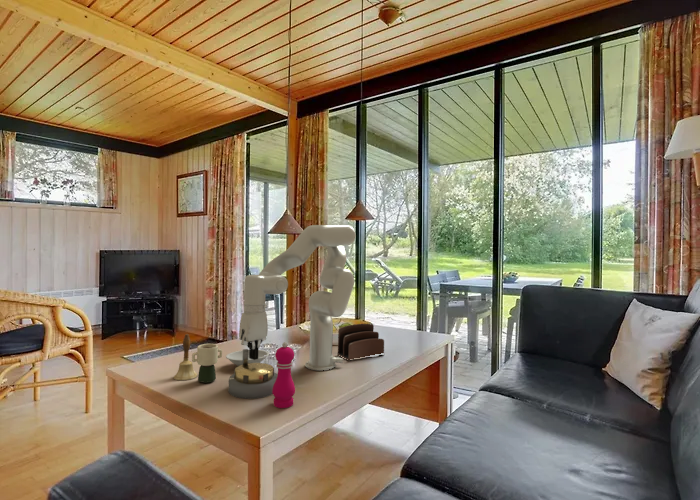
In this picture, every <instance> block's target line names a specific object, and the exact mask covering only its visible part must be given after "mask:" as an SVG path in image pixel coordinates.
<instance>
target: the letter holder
mask: <svg viewBox="0 0 700 500" xmlns="http://www.w3.org/2000/svg"><path fill="white" fill-rule="evenodd" d="M374 327H375V326H374V325H373V324H372V323H355V324H349V325H345V326H341V327H339V328H338V330H337V331H338V334H337V335H338V336H337V356H338V355H340V356H342V357H344V358H346V359H348V360H350V359H354V358H360V357H365V356H370V355H375V354H381V353H384V354H385V340H384V338H379V335H380V334H379V332H378V331H374V329H375V328H374Z"/></svg>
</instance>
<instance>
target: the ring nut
mask: <svg viewBox="0 0 700 500" xmlns="http://www.w3.org/2000/svg"><path fill="white" fill-rule="evenodd" d="M242 350H243V361H242V365H240V366H238V365H237V367H235V369H234V370H233V374H234V379H235V380H236V381H238V382H240V383H245V384H257V383H263V382H267V381H269V380H271V379H272V378H273V376H274V373H275V368H274V366H273V365H271V364H268V363H264V362H260V363H249V364H248V351H249V348H244V349H242Z"/></svg>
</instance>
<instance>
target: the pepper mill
mask: <svg viewBox="0 0 700 500" xmlns="http://www.w3.org/2000/svg"><path fill="white" fill-rule="evenodd" d="M281 345H282V346H281V347H280V346H279V348H278V349H276V351H275V356H274V357H275V360H276V361H277V362H276V368H277V374H278V375H277V379H276V381H275V383H274V386H273V390H272V393H273V394H272V395H273V397H274V398H273V406H274V407H275V408H278V409H288V408H290V407H292V406H294V398H293V397H294V396H295V393H296V387H295V382H294V380H293V377H292V368H293V359H295V352H294V349H293V348H292V347H290V346H288V345H289V344H288V342H286V341H284V342H282V344H281Z"/></svg>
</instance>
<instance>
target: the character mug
mask: <svg viewBox="0 0 700 500" xmlns="http://www.w3.org/2000/svg"><path fill="white" fill-rule="evenodd" d="M196 351H197V352H193V353H192V355H191V362H192V363H195V362H196V363H197V365H199V370H198V373H197V375H198V376H197V381H198V382H199V383H200V382H201V383H213V382H214V381H216V380H217V376H216V375H217V373H216V367H215V365H216V364H217V362H218V361H219V360H218V359H221V358H222V357H223V349H222V348H219V345H218V344H216V343H204V344H200V345H198V346H197V347H196Z"/></svg>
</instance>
